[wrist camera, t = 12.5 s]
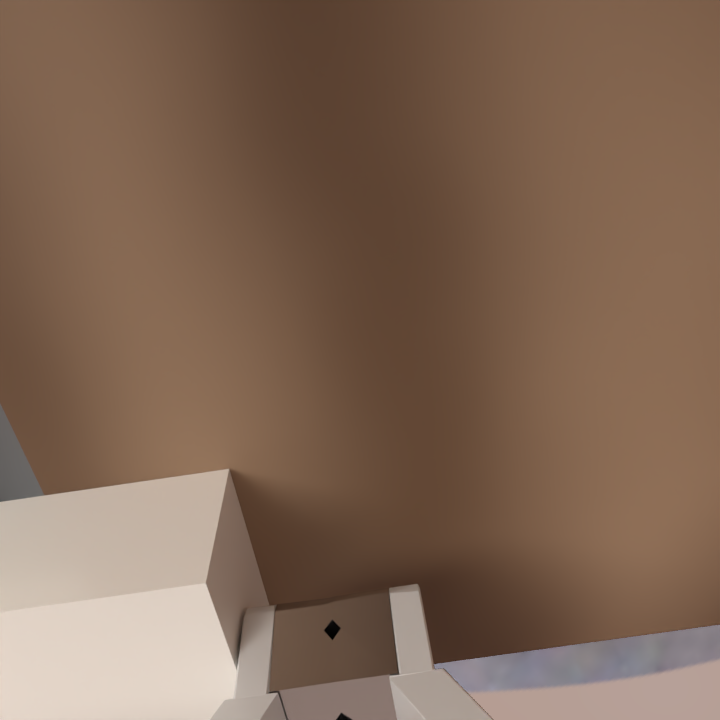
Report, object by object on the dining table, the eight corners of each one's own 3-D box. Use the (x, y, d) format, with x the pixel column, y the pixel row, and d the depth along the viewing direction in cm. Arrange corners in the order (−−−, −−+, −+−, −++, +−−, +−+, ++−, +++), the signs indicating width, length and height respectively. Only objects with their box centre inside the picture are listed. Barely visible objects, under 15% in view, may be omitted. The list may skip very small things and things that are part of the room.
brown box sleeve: (682, -208, 12) (986, -400, 6) (628, 450, 19) (750, 620, 13) (-15, -98, 12) (-286, -194, 7) (193, 513, 19) (144, 703, 14)
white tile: (229, 468, 11) (205, 583, 9) (284, 659, 13) (278, 787, 11) (-58, 510, 11) (-155, 634, 9) (49, 692, 13) (-6, 826, 11)
